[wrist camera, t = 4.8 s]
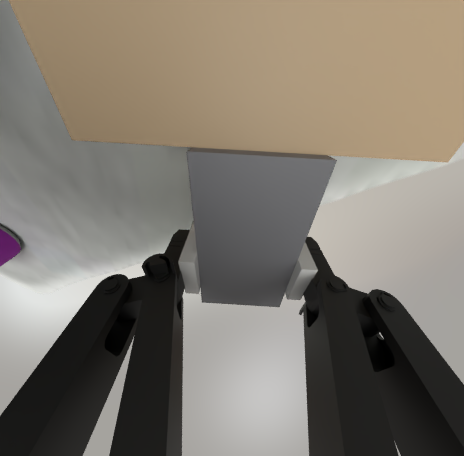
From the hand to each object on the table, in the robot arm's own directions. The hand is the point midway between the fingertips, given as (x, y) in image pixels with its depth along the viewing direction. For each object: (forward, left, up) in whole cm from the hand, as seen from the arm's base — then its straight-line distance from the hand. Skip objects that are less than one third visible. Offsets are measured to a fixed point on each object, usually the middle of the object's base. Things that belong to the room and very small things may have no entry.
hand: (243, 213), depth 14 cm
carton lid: (0, +7, +4) cm, 8 cm away
